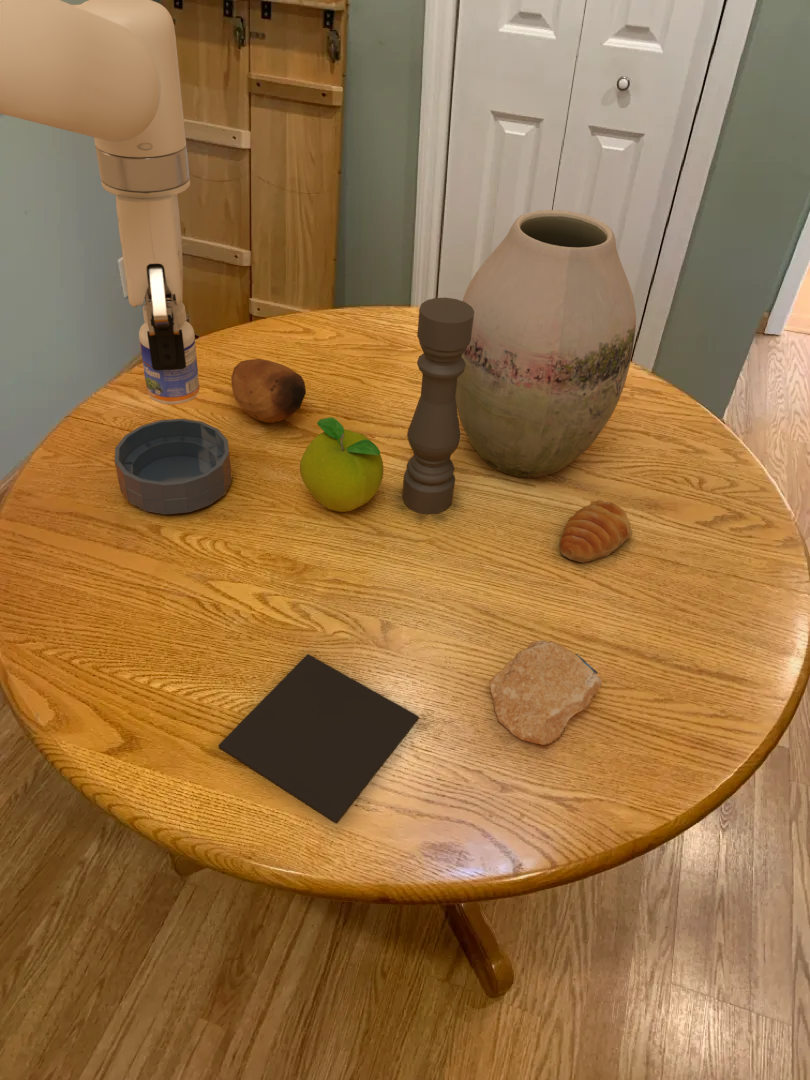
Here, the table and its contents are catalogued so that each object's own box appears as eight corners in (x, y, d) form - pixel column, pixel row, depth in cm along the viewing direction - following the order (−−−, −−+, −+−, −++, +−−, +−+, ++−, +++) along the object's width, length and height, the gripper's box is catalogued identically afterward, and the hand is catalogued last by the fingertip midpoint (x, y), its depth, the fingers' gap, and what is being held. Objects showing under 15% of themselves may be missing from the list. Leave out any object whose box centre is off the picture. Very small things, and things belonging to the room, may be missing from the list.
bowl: (178, 532, 96) (173, 499, 93) (98, 489, 101) (90, 456, 98) (253, 477, 105) (251, 444, 101) (175, 439, 109) (171, 407, 106)
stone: (606, 697, 82) (617, 667, 79) (536, 757, 77) (545, 728, 74) (541, 647, 87) (548, 617, 84) (470, 701, 81) (475, 670, 78)
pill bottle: (140, 385, 89) (126, 299, 83) (189, 374, 91) (179, 290, 85) (157, 411, 86) (144, 323, 79) (208, 399, 88) (199, 313, 82)
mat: (336, 824, 71) (336, 821, 70) (218, 748, 75) (218, 744, 75) (418, 719, 79) (418, 716, 79) (307, 656, 84) (307, 653, 84)
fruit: (343, 469, 107) (344, 402, 100) (394, 505, 102) (399, 437, 96) (286, 499, 102) (283, 430, 95) (337, 538, 97) (338, 469, 90)
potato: (240, 420, 119) (271, 374, 120) (298, 444, 110) (331, 395, 111) (204, 389, 113) (237, 341, 115) (262, 412, 105) (298, 360, 106)
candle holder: (427, 476, 107) (445, 291, 90) (462, 500, 104) (489, 312, 87) (391, 496, 103) (404, 307, 87) (427, 521, 100) (448, 330, 84)
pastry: (592, 577, 95) (599, 552, 92) (542, 549, 98) (548, 524, 95) (633, 537, 100) (641, 513, 98) (585, 512, 104) (591, 487, 101)
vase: (591, 412, 120) (643, 199, 100) (614, 508, 104) (681, 277, 84) (442, 402, 120) (464, 186, 100) (442, 496, 104) (469, 262, 84)
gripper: (102, 135, 79) (131, 314, 91) (95, 203, 67) (129, 400, 79) (184, 135, 80) (202, 311, 92) (192, 202, 68) (211, 395, 80)
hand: (168, 350), depth 85 cm, fingers closed on pill bottle, 5 cm apart
